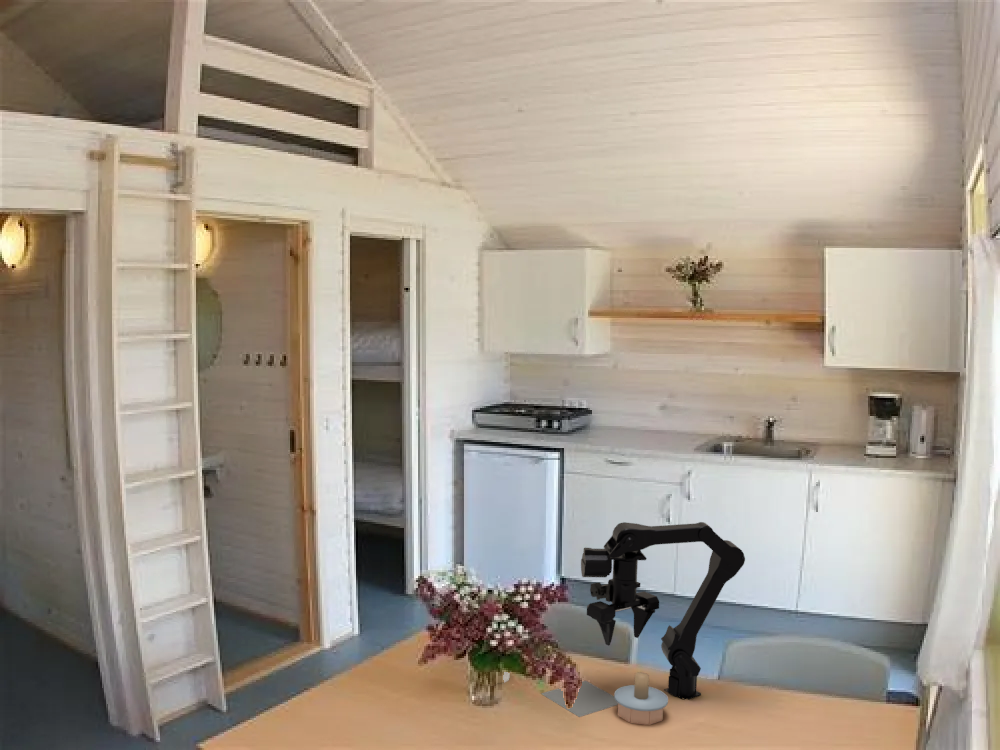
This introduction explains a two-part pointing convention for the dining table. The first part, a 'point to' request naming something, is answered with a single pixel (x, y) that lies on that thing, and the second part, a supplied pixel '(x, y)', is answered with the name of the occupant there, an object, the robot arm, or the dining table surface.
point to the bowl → (640, 715)
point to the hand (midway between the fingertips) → (622, 641)
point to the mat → (584, 699)
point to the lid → (641, 695)
